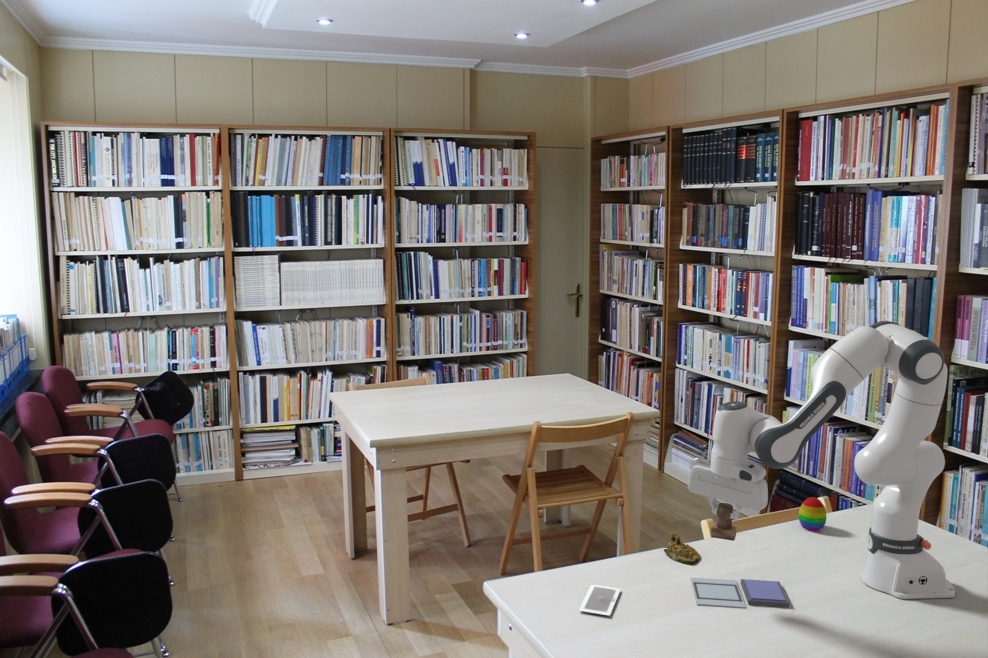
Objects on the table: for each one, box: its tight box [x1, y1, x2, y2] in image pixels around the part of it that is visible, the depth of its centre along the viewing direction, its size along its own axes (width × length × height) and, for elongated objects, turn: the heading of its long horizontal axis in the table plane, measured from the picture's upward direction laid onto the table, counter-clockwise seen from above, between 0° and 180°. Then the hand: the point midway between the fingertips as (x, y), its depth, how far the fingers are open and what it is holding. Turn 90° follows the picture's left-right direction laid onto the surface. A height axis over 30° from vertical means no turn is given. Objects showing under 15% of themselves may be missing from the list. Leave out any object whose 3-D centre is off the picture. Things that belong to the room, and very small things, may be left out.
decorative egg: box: [798, 496, 827, 532], centre depth 253 cm, size 8×8×10 cm
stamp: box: [710, 502, 738, 542], centre depth 206 cm, size 6×4×8 cm, turn 68°
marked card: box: [690, 576, 747, 609], centre depth 210 cm, size 12×15×1 cm
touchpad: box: [578, 584, 622, 616], centre depth 205 cm, size 8×15×2 cm, turn 161°
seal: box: [663, 532, 701, 566], centre depth 234 cm, size 9×5×15 cm
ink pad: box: [739, 578, 790, 608], centre depth 209 cm, size 10×12×2 cm
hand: (724, 516), depth 206 cm, fingers closed on stamp, 4 cm apart
